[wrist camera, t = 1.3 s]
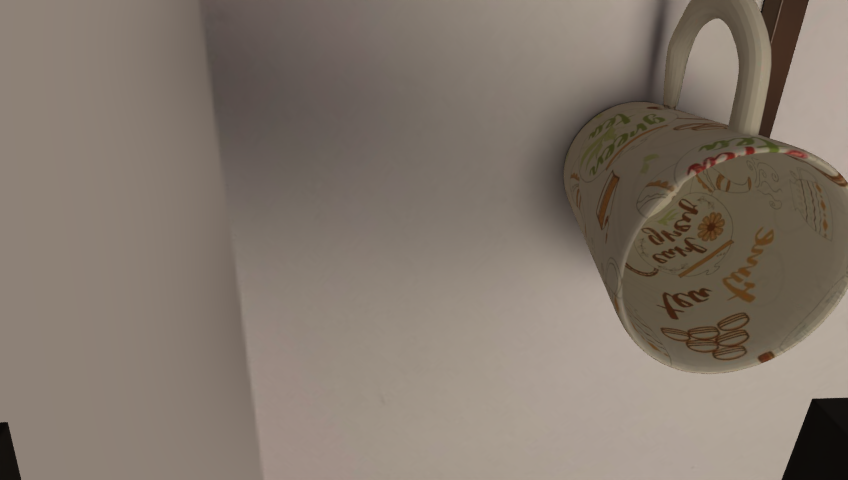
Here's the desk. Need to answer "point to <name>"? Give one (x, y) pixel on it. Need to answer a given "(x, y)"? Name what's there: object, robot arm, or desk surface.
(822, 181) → the mug
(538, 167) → the desk surface
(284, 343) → the desk surface
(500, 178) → the desk surface
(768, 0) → the strip
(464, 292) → the desk surface
